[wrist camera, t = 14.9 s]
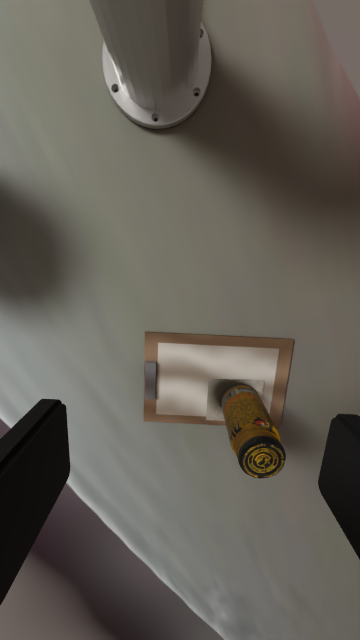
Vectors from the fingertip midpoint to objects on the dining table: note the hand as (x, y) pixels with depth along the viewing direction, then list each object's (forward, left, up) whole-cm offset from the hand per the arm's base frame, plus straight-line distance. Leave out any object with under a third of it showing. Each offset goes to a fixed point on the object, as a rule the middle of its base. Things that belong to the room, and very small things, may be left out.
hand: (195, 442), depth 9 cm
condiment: (+15, +8, -28) cm, 33 cm away
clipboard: (+12, +5, -28) cm, 31 cm away
